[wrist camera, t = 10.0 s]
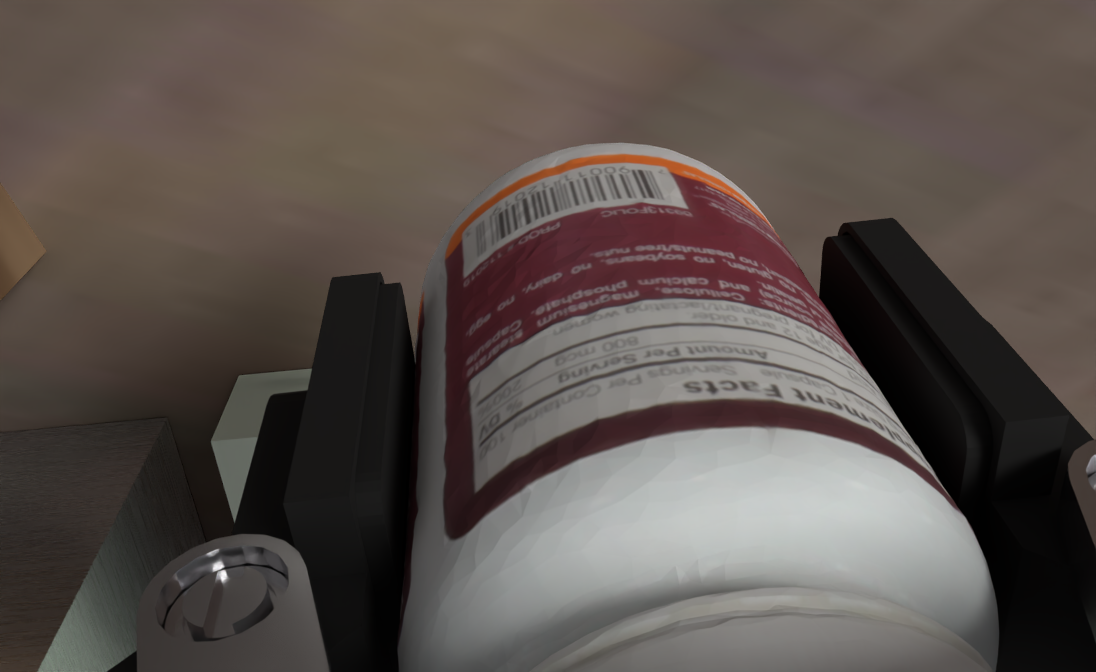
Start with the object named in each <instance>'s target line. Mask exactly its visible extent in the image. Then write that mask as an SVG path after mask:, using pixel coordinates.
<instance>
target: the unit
mask: <svg viewBox="0 0 1096 672" xmlns="http://www.w3.org/2000/svg"><path fill="white" fill-rule="evenodd" d="M204 543H206V540H205V537H204V534H203V531H202V528H201V524H200V521H199V518H198V515H197V512H196V508H195V505H194V502H193V499H192V495H191V492H190V489H189V486H188V483H187V479H186V476H185V473H184V470H183V467H182V463H181V460H180V457H179V454H178V451H177V447H176V444H175V441H174V438H173V434H172V431H171V428H170V425H169V422H168V418H156V419H146V420H135V421H124V422H113V423H103V424H92V425H81V426H70V427H60V428H49V429H38V430H27V431H17V432H6V433H0V672H107V671H108V670H109V669H111V668H112V667H114V666H115V665H117V664H118V663H119V662H121V661H122V660H124V659H125V658H127V657H128V656H129V655H131V654H132V653H134V652H135V651H136V650H137V622H136V616H137V612H138V607H139V602H140V598H141V596H142V594H143V593H144V591H145V590H146V588H147V586H148V585H149V583H150V581H151V580H152V578H154V577H155V576H156V575H157V574H158V573H159V572H160V571H161V570H162V569H163V568H164V567H165V566H166V565H167V564H168V563H169V562H171V561H172V560H174V559H175V558H177V557H179V556H180V555H182V554H184V553H185V552H187V551H188V550H190V549H192V548H194V547H196V546H199V545H202V544H204Z"/></svg>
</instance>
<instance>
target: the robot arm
mask: <svg viewBox="0 0 1096 672" xmlns="http://www.w3.org/2000/svg"><path fill="white" fill-rule="evenodd" d="M819 298H820V300H821V301H822V302H823V304H824V305H825V307H826V308H827V310H828V311H829V312H830V314H831V316H832V317H833V319H834V321H835V322H836V324H837V326H838V327H839V329H840V331H841V332H842V334H843V336H844V337H845V339H846V340H847V342H848V343H849V345H850V346H851V348H852V349H853V351H854V352H855V354H856V355H857V357H858V358H859V360H860V362H861V363H862V365H863V366H864V367H865V369H866V370H867V372H868V373H869V375H870V376H871V378H872V379H873V380H874V382H875V383H876V385H877V386H878V388H879V389H880V391H881V392H882V394H883V395H884V397H885V399H886V400H887V402H888V403H889V405H890V406H891V408H892V409H893V411H894V413H895V414H896V416H897V417H898V419H899V421H900V422H901V424H902V425H903V427H904V428H905V430H906V431H907V433H908V434H909V436H910V437H911V439H912V440H913V442H914V443H915V444H916V445H917V446H918V448H919V449H920V451H921V453H922V455H923V456H924V458H925V460H926V461H927V462H928V463H929V465H930V466H931V467H932V469H933V471H934V473H935V474H936V476H937V478H938V480H939V481H940V483H941V484H942V486H943V487H944V489H945V490H946V491H947V493H948V494H949V495H950V497H951V498H952V499H953V501H954V502H955V504H956V506H957V507H958V508H959V510H960V511H961V512H962V514H963V515H964V516H965V518H966V519H967V521H968V522H969V524H970V525H971V527H972V529H973V531H974V534H975V536H976V538H977V540H978V543H979V545H980V547H981V550H982V552H983V555H984V557H985V559H986V562H987V565H988V568H989V572H990V576H991V580H992V584H993V588H994V591H995V597H996V602H997V609H998V621H999V645H998V658H997V665H996V672H1096V440H1094V439H1093V438H1092V437H1091V436H1090V434H1089V433H1088V432H1087V431H1086V430H1085V429H1084V428H1083V427H1082V425H1081V424H1080V423H1079V422H1078V421H1077V420H1076V419H1075V418H1074V416H1073V415H1072V414H1071V413H1070V412H1069V411H1068V410H1067V409H1066V407H1065V406H1064V405H1063V404H1062V403H1061V402H1060V401H1059V400H1058V399H1057V397H1056V396H1055V395H1054V394H1053V393H1052V392H1051V391H1050V390H1049V388H1048V387H1047V386H1046V385H1045V384H1044V383H1043V382H1042V381H1041V379H1040V378H1039V377H1038V376H1037V375H1036V374H1035V373H1034V372H1033V371H1032V369H1031V368H1030V367H1029V366H1028V365H1027V364H1026V363H1025V362H1024V360H1023V359H1022V358H1021V357H1020V356H1019V355H1018V354H1017V353H1016V351H1015V350H1014V349H1013V348H1012V347H1011V346H1010V345H1009V344H1008V342H1007V341H1006V340H1005V339H1004V338H1003V337H1002V336H1001V335H1000V334H999V332H998V331H997V330H996V329H995V328H994V327H993V326H992V325H991V324H990V323H989V322H988V321H986V320H985V319H984V318H983V317H982V316H981V315H980V314H979V313H978V312H977V311H976V310H975V308H974V307H973V306H972V305H971V304H970V303H969V302H968V301H967V299H966V298H965V297H964V296H963V295H962V294H961V293H960V292H959V290H958V289H957V288H956V287H955V286H954V285H953V284H952V283H951V281H950V280H949V279H948V278H947V277H946V276H945V275H944V274H943V272H942V271H941V270H940V269H939V268H938V267H937V266H936V265H935V263H934V262H933V261H932V260H931V259H930V258H929V257H928V256H927V254H926V253H925V252H924V251H923V250H922V249H921V248H920V246H919V245H918V244H917V243H916V242H915V241H914V240H913V239H912V237H911V236H910V235H909V234H908V233H907V232H906V231H905V230H904V228H903V227H902V226H901V225H900V224H899V223H898V222H897V221H896V220H895V219H893V218H887V219H878V220H868V221H859V222H849V223H843V224H842V226H841V227H840V229H839V232H838V236H832V237H827V238H826V239H825V241H824V244H823V251H822V265H821V279H820V294H819ZM415 366H416V364H415V358H414V352H413V347H412V341H411V335H410V329H409V323H408V318H407V312H406V306H405V300H404V295H403V290H402V286H401V284H400V283H392V284H384V280H383V277H382V274H381V272H379V273H369V274H360V275H351V276H341V277H332V280H331V283H330V288H329V292H328V297H327V302H326V306H325V311H324V315H323V320H322V325H321V329H320V334H319V339H318V343H317V348H316V353H315V357H314V362H313V367H312V371H311V376H310V381H309V385H308V390H304V391H295V392H286V393H277V394H273V395H271V396H270V398H269V400H268V402H267V405H266V409H265V412H264V416H263V420H262V424H261V427H260V431H259V435H258V438H257V442H256V446H255V449H254V453H253V457H252V461H251V464H250V468H249V472H248V475H247V479H246V483H245V486H244V490H243V494H242V498H241V501H240V505H239V509H238V512H237V516H236V520H235V523H234V527H233V531H232V535H231V536H228V537H223V538H217V539H215V540H212V541H209V542H207V543H204V544H202V545H199V546H196V547H194V548H192V549H190V550H188V551H187V552H185V553H184V554H182V555H180V556H179V557H177V558H175V559H174V560H172V561H171V562H169V563H168V564H167V565H166V566H165V567H164V568H163V569H162V570H161V571H160V572H159V573H158V574H157V575H156V576H155V577H154V578H152V580H151V581H150V583H149V585H148V586H147V588H146V590H145V591H144V593H143V594H142V596H141V598H140V602H139V607H138V612H137V616H136V622H137V650H136V651H135V652H134V653H132V654H131V655H129V656H128V657H127V658H125V659H124V660H122V661H121V662H119V663H118V664H117V665H115V666H114V667H112V668H111V669H109V670H108V671H107V672H399V664H398V651H397V640H398V630H399V624H400V611H401V597H402V588H403V577H404V561H405V548H406V527H407V509H408V496H409V475H410V460H411V444H412V441H411V434H412V426H413V411H414V380H415Z"/></svg>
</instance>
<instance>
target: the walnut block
mask: <svg viewBox="0 0 1096 672" xmlns="http://www.w3.org/2000/svg"><path fill="white" fill-rule="evenodd" d="M45 253H46V250H45V249H44V247H43V246H42V244H41V243H40V241H39V240H38V238H37V237H36V235H35V234H34V232H33V231H32V229H31V228H30V226H29V225H28V223H27V222H26V220H25V219H24V217H23V216H22V214H21V213H20V211H19V210H18V208H17V207H16V205H15V204H14V202H13V201H12V199H11V198H10V196H9V195H8V193H7V192H6V190H5V189H4V187H3V186H2V185H1V183H0V300H1V299H2V298H3V297H4V296H5V295H6V294H7V293H8V292H9V291H10V290H11V289H12V288H13V287H14V286H15V284H16V283H17V282H18V281H19V280H20V279H21V278H22V277H23V276H24V275H25V274H26V273H27V272H28V271H29V270H30V269H31V267H32V266H33V265H34V264H35V263H36V262H37V261H38V260H39V259H40V258H41V257H42V256H43V255H44V254H45Z"/></svg>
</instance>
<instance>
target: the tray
mask: <svg viewBox="0 0 1096 672" xmlns="http://www.w3.org/2000/svg"><path fill="white" fill-rule="evenodd" d="M311 371H312V369H301V370H291V371H280V372H269V373H258V374H247V375H239V376H238V379H237V381H236V383H235V386H234V388H233V390H232V393H231V395H230V397H229V400H228V402H227V404H226V407H225V409H224V411H223V414H222V416H221V418H220V421H219V423H218V426H217V428H216V430H215V433H214V435H213V437H212V440H211V444H212V447H213V451H214V454H215V458H216V461H217V465H218V468H219V472H220V475H221V478H222V482H223V485H224V489H225V492H226V496H227V499H228V502H229V506H230V509H231V513H232V516H233V520H234V523H235V520H236V516H237V512H238V509H239V505H240V501H241V498H242V494H243V490H244V486H245V483H246V479H247V475H248V472H249V468H250V464H251V461H252V457H253V453H254V449H255V446H256V442H257V438H258V435H259V431H260V427H261V424H262V420H263V416H264V412H265V409H266V405H267V402H268V400H269V398H270V396H271V395H273V394H277V393H286V392H295V391H304V390H308V385H309V381H310V376H311Z"/></svg>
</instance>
